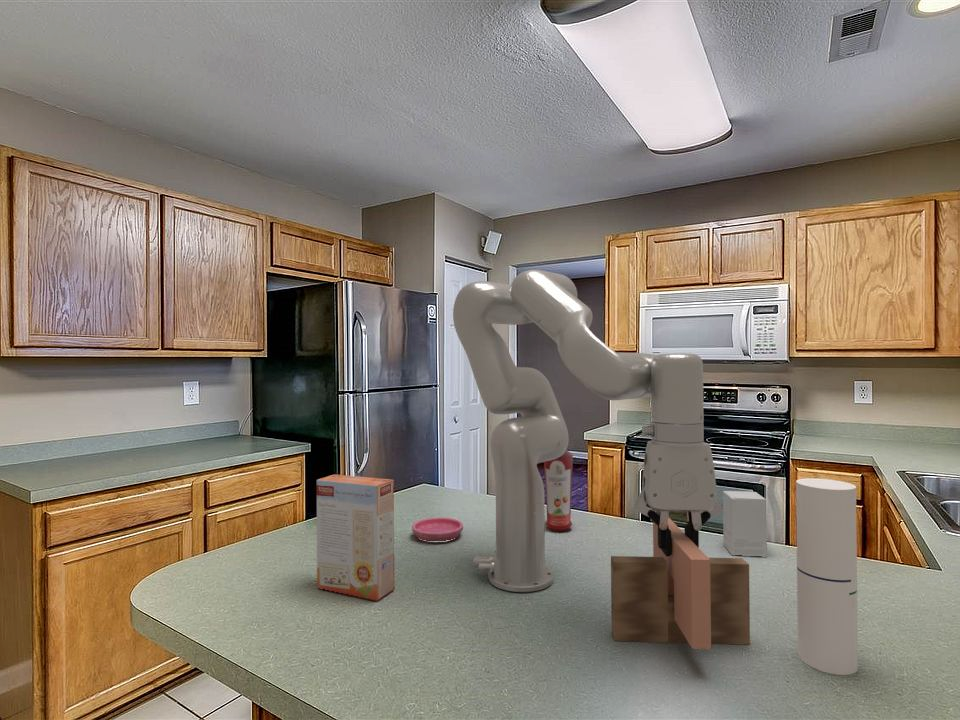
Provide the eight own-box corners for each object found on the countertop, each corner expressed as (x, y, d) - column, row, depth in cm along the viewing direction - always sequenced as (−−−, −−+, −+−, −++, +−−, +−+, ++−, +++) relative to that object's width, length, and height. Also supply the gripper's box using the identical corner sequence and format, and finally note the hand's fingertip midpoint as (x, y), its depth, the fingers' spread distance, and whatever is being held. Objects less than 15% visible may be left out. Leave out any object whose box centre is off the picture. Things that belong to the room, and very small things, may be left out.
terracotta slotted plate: (711, 649, 72) (710, 559, 72) (692, 648, 72) (691, 559, 72) (668, 586, 92) (667, 516, 92) (653, 585, 92) (652, 516, 92)
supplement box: (767, 558, 115) (767, 499, 115) (730, 555, 116) (730, 497, 116) (757, 546, 122) (756, 491, 122) (722, 544, 123) (722, 489, 123)
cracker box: (396, 589, 100) (395, 478, 100) (377, 603, 95) (376, 485, 95) (337, 577, 106) (336, 472, 106) (315, 589, 100) (315, 478, 101)
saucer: (468, 542, 126) (468, 529, 126) (416, 548, 123) (416, 534, 123) (456, 527, 138) (456, 515, 138) (408, 532, 135) (408, 519, 135)
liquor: (574, 525, 138) (573, 417, 138) (572, 534, 131) (571, 420, 131) (545, 523, 140) (545, 417, 140) (542, 532, 133) (541, 420, 133)
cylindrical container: (786, 648, 79) (784, 478, 79) (832, 645, 79) (830, 477, 79) (821, 676, 72) (819, 490, 72) (871, 673, 72) (869, 489, 72)
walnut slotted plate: (614, 640, 81) (613, 562, 81) (611, 632, 84) (610, 556, 84) (749, 644, 80) (749, 564, 80) (742, 635, 82) (742, 558, 82)
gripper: (628, 437, 79) (629, 561, 79) (742, 437, 78) (743, 563, 77) (618, 430, 86) (619, 544, 86) (722, 430, 85) (723, 546, 85)
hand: (678, 552), depth 82 cm, fingers open, 3 cm apart
